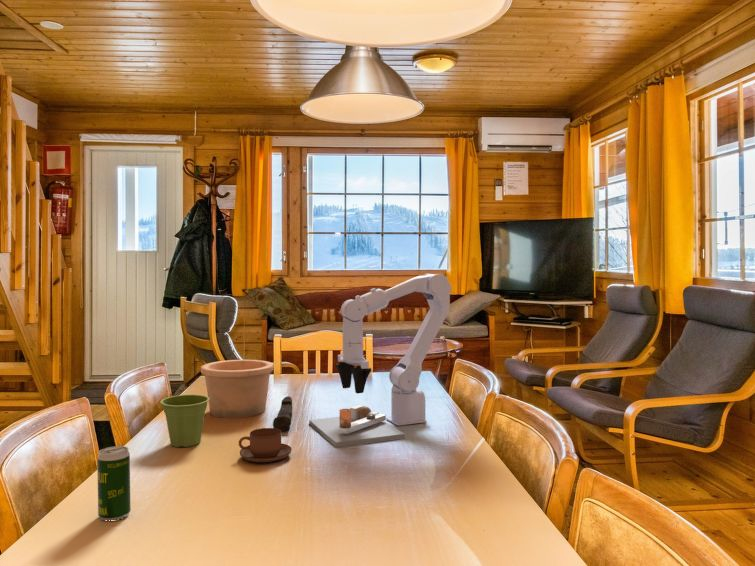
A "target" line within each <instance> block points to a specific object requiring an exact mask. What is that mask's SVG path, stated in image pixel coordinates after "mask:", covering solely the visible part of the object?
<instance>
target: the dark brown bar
mask: <svg viewBox="0 0 755 566" xmlns="http://www.w3.org/2000/svg"><path fill="white" fill-rule="evenodd" d="M292 417H293V398H292V397H291V396H289V395H288V396H285V397H284V398H283V399H282V400H281V405H280V409H279V411H278V413H277V415H276V417H274V419H273V422H272V428H275V429H279V430H281V434H282V433H288V432H290V430H291V425H292Z"/></svg>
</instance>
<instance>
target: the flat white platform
mask: <svg viewBox="0 0 755 566" xmlns="http://www.w3.org/2000/svg"><path fill="white" fill-rule="evenodd" d="M362 407H366V406H365V405H364V404H363V405H362V404H357V405H355V406H351V407H349V409H351V423H352V422H354V421H357V420H360V419H362V418H361V417H360V416H359V410H360V409H361V408H362ZM308 422H309V423H308V424H309V425H310V426H311V427H312V428H313V429H314V430H315V431H317V432H318V433H319V434H320V435H321V436H322V437H323V438H324V439H326V440H327V441H328V442H329V443H330V444H331V445H333V446H334V447H335V448H339V447H340V448H342V447H349V446H357V445H364V444H371V443H379V442H386V441H388V442H389V441H393V440H395V441H396V440H402V439H405V438H406V433H404V432H402V431H401V430H399V429H398V428H396V427H394V426H393V425H391V424H389V423H388V422H386V420H384V421H382V422H379V423H376V424H373V425H371V426H368V427H365V428H362V429H360V430H357V431H354V432H351V433H349V434H344V433H340V432H339V427H340V416H334V417H332V416H331V417H324V418H316V419H309V421H308Z"/></svg>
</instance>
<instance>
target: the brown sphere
mask: <svg viewBox="0 0 755 566" xmlns="http://www.w3.org/2000/svg"><path fill="white" fill-rule="evenodd" d="M371 412H372V410H371V408H370V407H368V406H365V407H362V408H361V409H360V410H359V416H360V417H361V418H362V419H363V418H366V417H367V414H368V413H371Z"/></svg>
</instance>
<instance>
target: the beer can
mask: <svg viewBox="0 0 755 566" xmlns="http://www.w3.org/2000/svg"><path fill="white" fill-rule="evenodd" d="M130 455H131V454H130V451H129V447H128V446H122V445H117V446H116V445H115V446H109V447H105V448H102V449H99V451H98V455H97V459H96V461H97V463H96V464H97V514H98V518H99V520H101V519H102V520H107V521H109V520H110V521H111V520H118V519H121V520H123V519H122V518H124V517H126V516H127V517H129V515H130V512H131V511H132V510H131V456H130ZM127 517H126V518H127ZM124 519H125V518H124ZM102 520H101V521H102ZM118 521H119V520H118Z"/></svg>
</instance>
